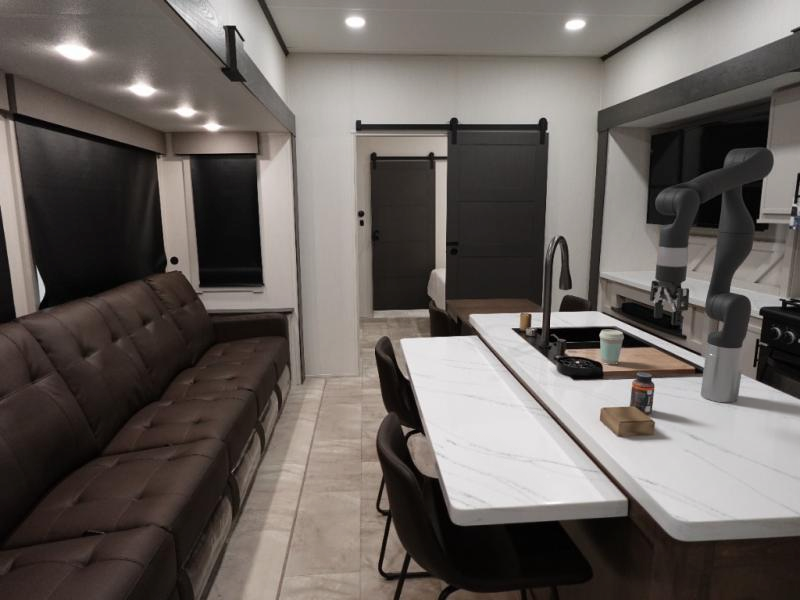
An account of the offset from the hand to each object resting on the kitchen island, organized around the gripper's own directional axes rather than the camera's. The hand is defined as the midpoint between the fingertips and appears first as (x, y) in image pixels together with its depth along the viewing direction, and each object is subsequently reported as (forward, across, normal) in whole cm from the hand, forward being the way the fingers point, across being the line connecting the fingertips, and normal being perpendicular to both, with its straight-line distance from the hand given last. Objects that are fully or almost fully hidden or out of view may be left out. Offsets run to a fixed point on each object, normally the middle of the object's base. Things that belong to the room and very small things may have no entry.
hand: (666, 321), depth 148 cm
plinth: (+27, -8, +14) cm, 32 cm away
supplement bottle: (+28, +2, +4) cm, 28 cm away
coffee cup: (+28, +46, -8) cm, 55 cm away
